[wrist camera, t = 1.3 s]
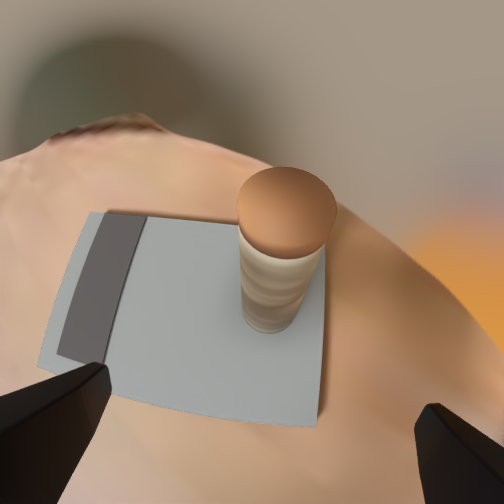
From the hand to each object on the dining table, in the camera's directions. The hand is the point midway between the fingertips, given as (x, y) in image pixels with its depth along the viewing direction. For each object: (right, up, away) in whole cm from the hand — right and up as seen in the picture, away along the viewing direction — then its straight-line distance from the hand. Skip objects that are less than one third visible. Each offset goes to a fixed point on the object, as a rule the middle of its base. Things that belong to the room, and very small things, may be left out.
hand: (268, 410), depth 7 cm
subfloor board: (-6, 0, +15) cm, 16 cm away
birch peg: (+1, 0, +13) cm, 13 cm away
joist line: (-12, +2, +14) cm, 18 cm away
